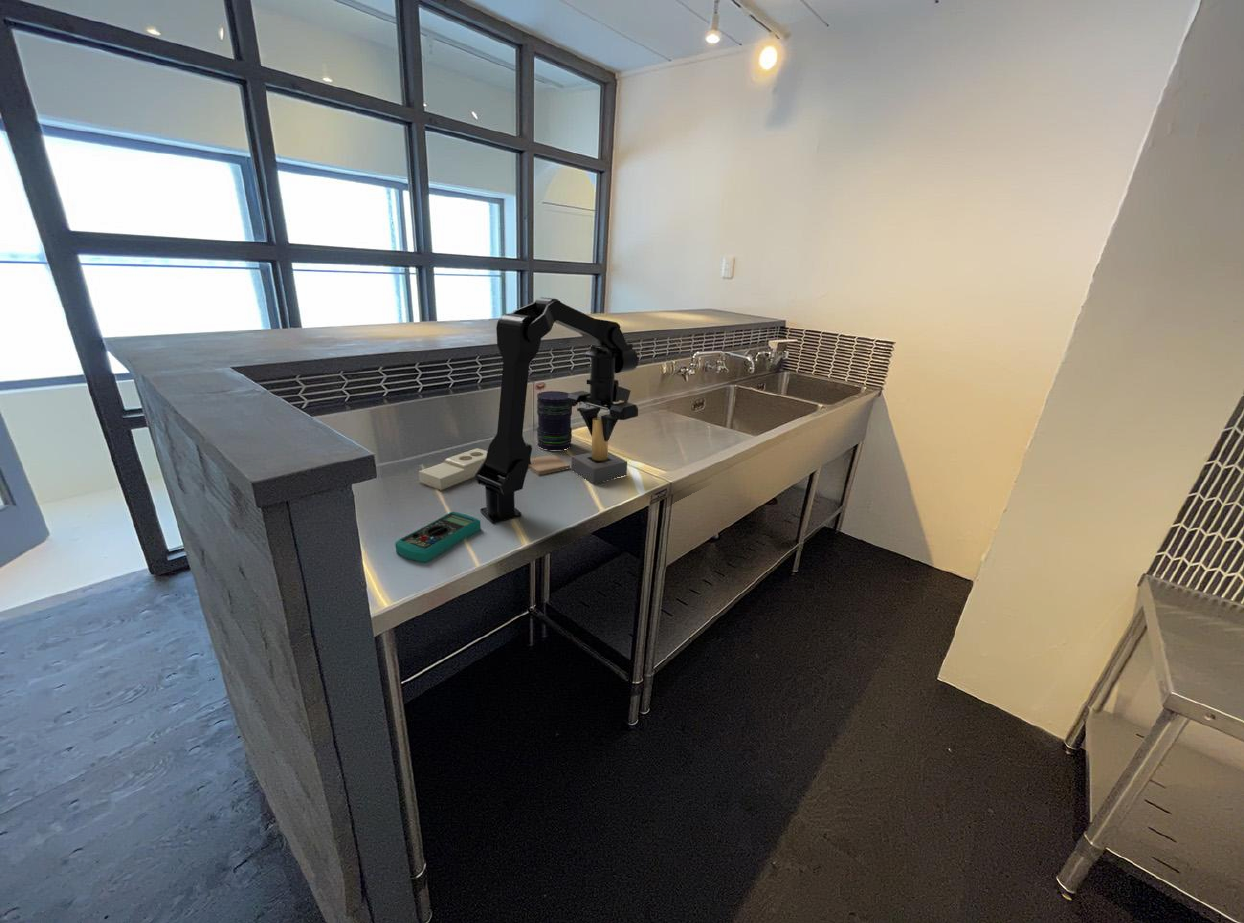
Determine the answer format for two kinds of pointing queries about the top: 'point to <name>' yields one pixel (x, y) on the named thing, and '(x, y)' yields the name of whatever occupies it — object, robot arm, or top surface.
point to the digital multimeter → (437, 536)
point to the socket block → (598, 467)
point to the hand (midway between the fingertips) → (600, 438)
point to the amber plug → (598, 441)
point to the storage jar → (554, 420)
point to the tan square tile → (547, 464)
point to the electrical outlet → (453, 469)
